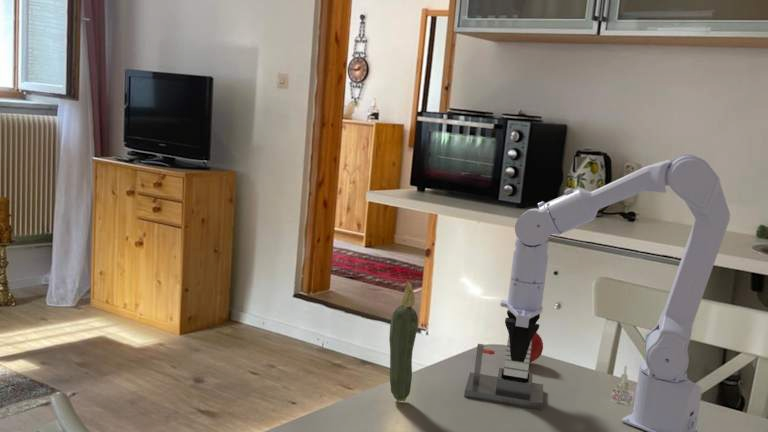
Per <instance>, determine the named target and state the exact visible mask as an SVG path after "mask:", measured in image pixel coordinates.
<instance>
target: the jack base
mask: <svg viewBox="0 0 768 432" xmlns="http://www.w3.org/2000/svg"><path fill="white" fill-rule="evenodd" d="M484 346H485V345H484V344H483V343H477V347H476V353H475V354H476V355H475V363H474V371H473V372H469V375H468V378H467V380H466V381H467V382H466V386H465V389H464V394H463V397H466V398H471V399H476V400H482V401H488V402H495V403H498V404H506V405H510V406H517V407H522V408H529V409H535V410H539V411H542V410H543V404H544V384H543V383H536V382H533V372H529V371H528V376H527V379H526V378H520V377H514V376H508V375H503V374H504V367H499V369H498V373H497V376H494V375H488V374H483V373H482V374H481V369H482V361H483V354H485V355H486V354H488V355H495V352H496V351H495V350H493V349H488V348H484Z"/></svg>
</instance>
